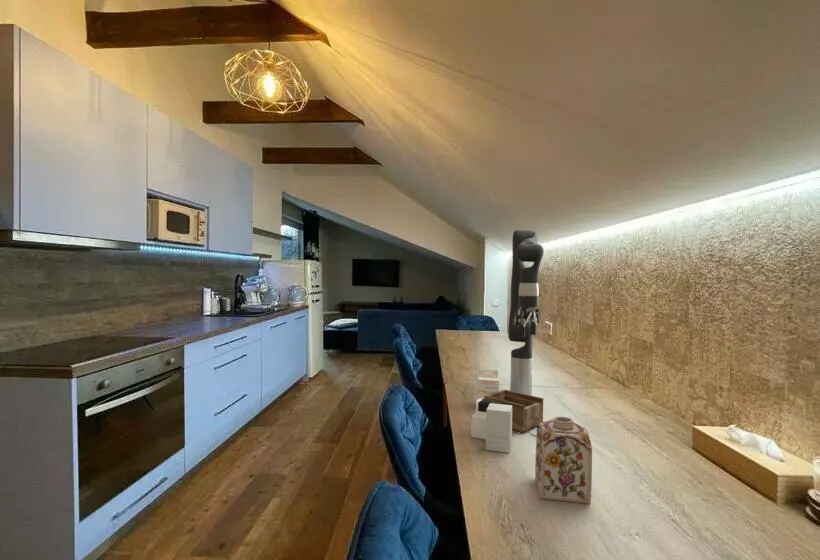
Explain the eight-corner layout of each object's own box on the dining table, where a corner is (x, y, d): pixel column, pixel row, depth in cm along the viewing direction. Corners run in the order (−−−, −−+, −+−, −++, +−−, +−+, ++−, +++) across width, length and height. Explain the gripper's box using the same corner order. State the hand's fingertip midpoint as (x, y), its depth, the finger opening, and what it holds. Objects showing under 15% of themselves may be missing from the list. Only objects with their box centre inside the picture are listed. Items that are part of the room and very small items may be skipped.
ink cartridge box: (477, 408, 176) (477, 371, 176) (476, 404, 181) (477, 369, 181) (498, 409, 175) (499, 372, 175) (497, 405, 180) (498, 370, 180)
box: (504, 414, 169) (505, 389, 169) (542, 424, 157) (543, 398, 157) (483, 422, 159) (484, 396, 159) (522, 433, 147) (523, 406, 147)
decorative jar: (591, 505, 102) (593, 428, 102) (540, 500, 104) (541, 424, 104) (581, 482, 113) (582, 413, 113) (534, 477, 115) (536, 409, 115)
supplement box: (512, 445, 138) (513, 405, 138) (509, 453, 131) (510, 411, 131) (488, 441, 140) (489, 402, 140) (485, 450, 133) (486, 408, 133)
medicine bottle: (497, 434, 147) (498, 398, 147) (492, 441, 141) (493, 404, 140) (476, 430, 150) (477, 395, 150) (470, 437, 144) (471, 400, 143)
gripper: (529, 293, 180) (528, 333, 180) (510, 294, 169) (509, 336, 170) (546, 294, 174) (545, 335, 174) (527, 295, 164) (526, 338, 164)
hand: (527, 335), depth 172 cm, fingers open, 8 cm apart
